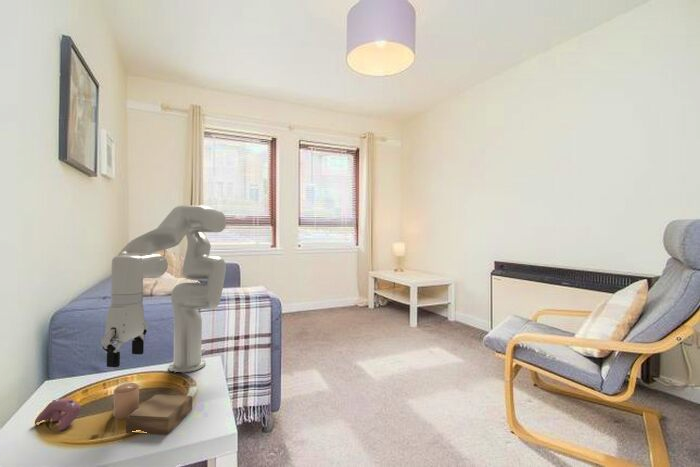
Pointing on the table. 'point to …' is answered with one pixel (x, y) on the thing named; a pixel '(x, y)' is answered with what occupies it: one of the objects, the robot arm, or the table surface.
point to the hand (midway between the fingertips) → (126, 360)
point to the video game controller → (60, 412)
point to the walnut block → (159, 414)
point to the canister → (125, 400)
